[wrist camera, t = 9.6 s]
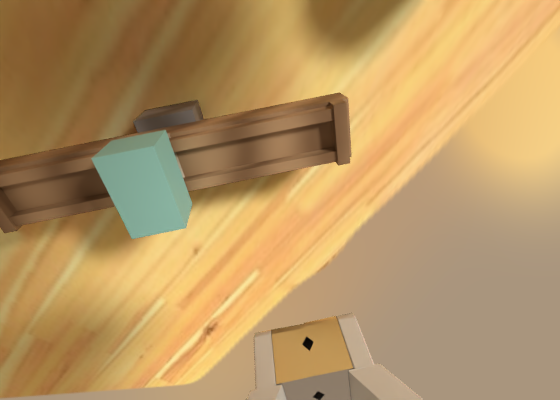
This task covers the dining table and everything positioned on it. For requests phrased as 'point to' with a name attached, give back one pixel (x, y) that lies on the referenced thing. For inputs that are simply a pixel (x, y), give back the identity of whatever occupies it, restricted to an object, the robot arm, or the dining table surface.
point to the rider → (145, 183)
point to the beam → (181, 155)
